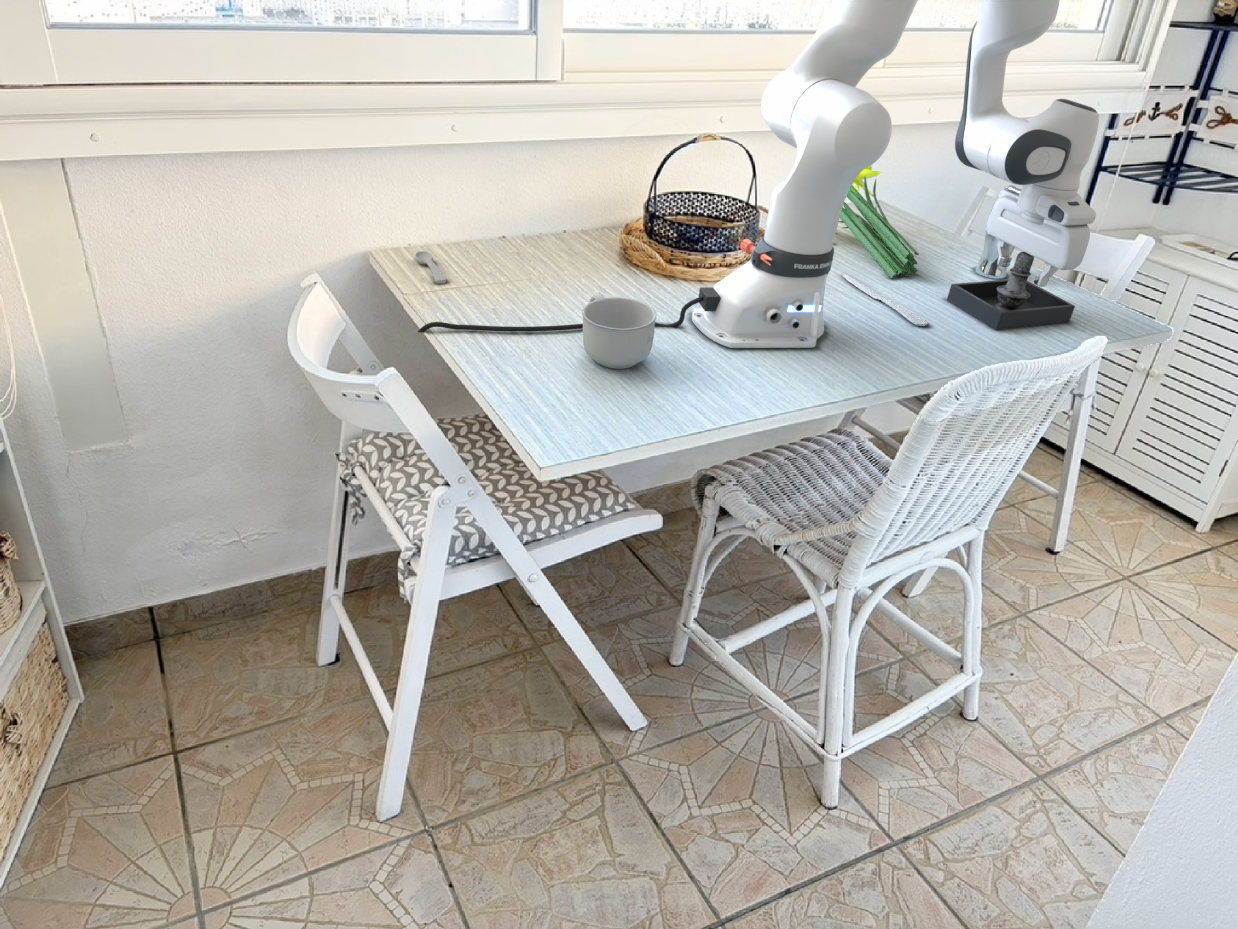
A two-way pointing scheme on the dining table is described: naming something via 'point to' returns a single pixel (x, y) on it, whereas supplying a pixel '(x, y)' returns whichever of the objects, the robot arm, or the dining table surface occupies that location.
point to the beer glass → (991, 258)
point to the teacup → (618, 331)
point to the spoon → (428, 259)
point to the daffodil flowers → (877, 230)
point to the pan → (1032, 313)
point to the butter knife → (887, 302)
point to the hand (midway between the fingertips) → (1020, 275)
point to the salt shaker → (1015, 284)
